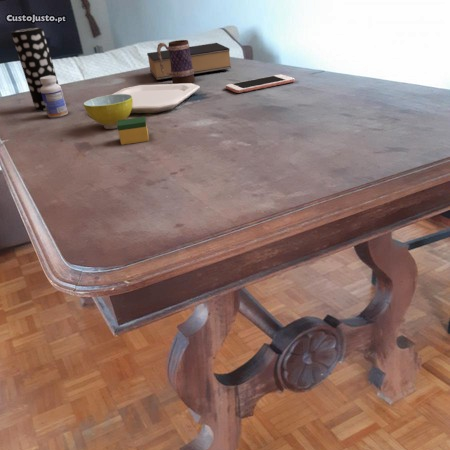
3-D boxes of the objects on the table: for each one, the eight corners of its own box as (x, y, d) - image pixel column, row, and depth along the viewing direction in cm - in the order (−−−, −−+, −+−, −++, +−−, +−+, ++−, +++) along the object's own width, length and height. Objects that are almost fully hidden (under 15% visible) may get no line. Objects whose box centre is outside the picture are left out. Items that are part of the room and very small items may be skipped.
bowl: (109, 118, 121) (103, 93, 118) (146, 120, 116) (141, 93, 113) (80, 132, 113) (73, 105, 110) (119, 134, 108) (112, 106, 105)
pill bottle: (49, 114, 132) (38, 76, 126) (69, 111, 132) (58, 73, 127) (47, 119, 127) (35, 80, 122) (67, 116, 128) (56, 77, 122)
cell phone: (295, 81, 133) (295, 78, 133) (237, 93, 129) (237, 90, 128) (280, 77, 140) (280, 73, 140) (225, 88, 136) (224, 84, 135)
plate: (129, 93, 144) (127, 85, 143) (205, 90, 136) (204, 82, 135) (86, 116, 125) (84, 108, 124) (172, 115, 118) (170, 106, 116)
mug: (192, 79, 151) (187, 37, 144) (197, 83, 146) (191, 39, 139) (161, 84, 150) (154, 42, 143) (164, 88, 144) (157, 44, 137)
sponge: (121, 144, 102) (116, 126, 100) (121, 138, 105) (117, 120, 103) (148, 140, 102) (145, 121, 100) (148, 134, 106) (144, 116, 104)
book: (150, 73, 167) (146, 53, 163) (218, 63, 171) (216, 42, 167) (157, 82, 153) (153, 60, 149) (231, 70, 157) (229, 48, 153)
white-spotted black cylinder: (32, 112, 136) (6, 33, 124) (40, 105, 143) (16, 29, 131) (60, 109, 136) (37, 29, 124) (67, 102, 143) (46, 26, 131)
